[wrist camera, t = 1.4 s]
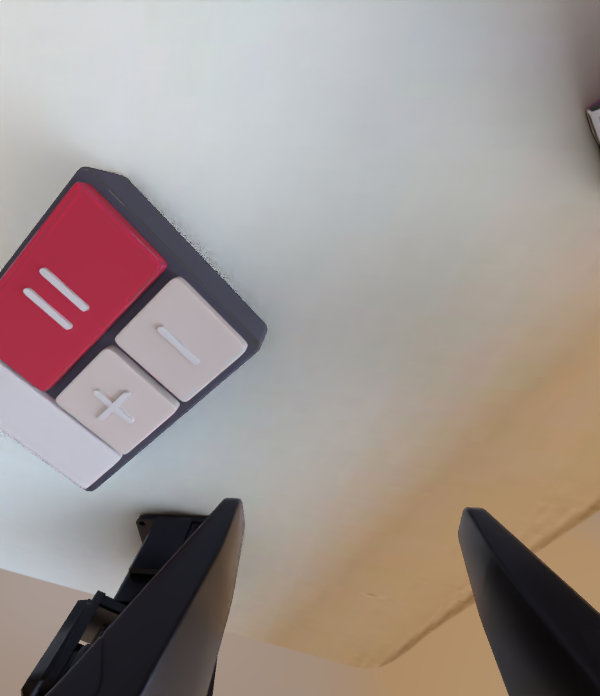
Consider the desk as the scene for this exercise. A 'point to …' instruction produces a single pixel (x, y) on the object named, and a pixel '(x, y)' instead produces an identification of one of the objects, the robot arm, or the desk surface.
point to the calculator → (110, 329)
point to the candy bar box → (594, 119)
